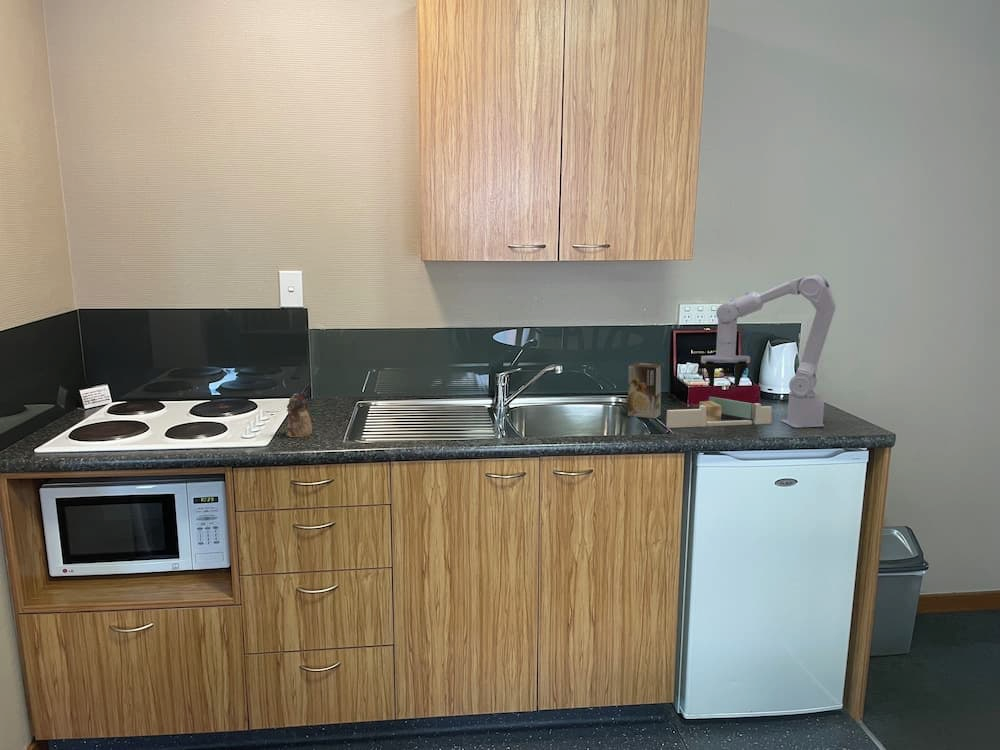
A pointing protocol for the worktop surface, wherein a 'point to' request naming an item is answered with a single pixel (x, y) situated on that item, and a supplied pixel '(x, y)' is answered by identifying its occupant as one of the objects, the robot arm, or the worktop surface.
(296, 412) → the figurine
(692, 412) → the door frame
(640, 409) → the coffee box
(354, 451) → the worktop surface
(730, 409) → the door
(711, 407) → the doorstop
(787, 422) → the robot arm
